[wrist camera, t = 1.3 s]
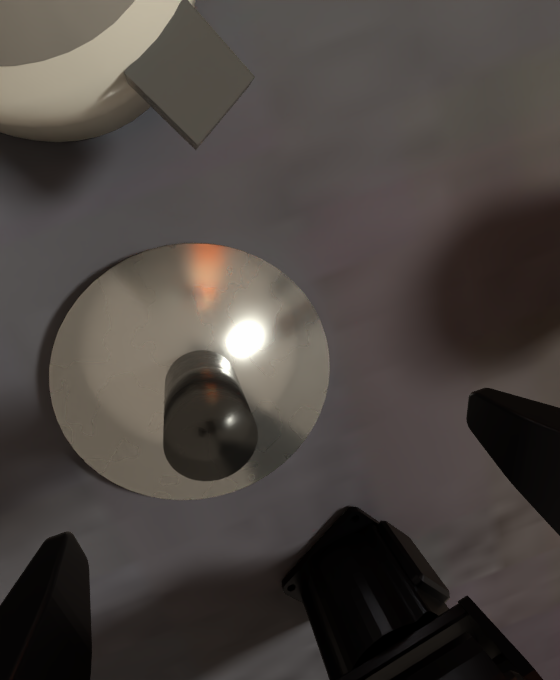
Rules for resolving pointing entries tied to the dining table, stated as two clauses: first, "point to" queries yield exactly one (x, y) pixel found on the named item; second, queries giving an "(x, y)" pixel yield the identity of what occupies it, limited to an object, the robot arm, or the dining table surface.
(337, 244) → the dining table surface
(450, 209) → the dining table surface
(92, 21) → the pot
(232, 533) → the dining table surface
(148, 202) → the dining table surface
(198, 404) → the lid
